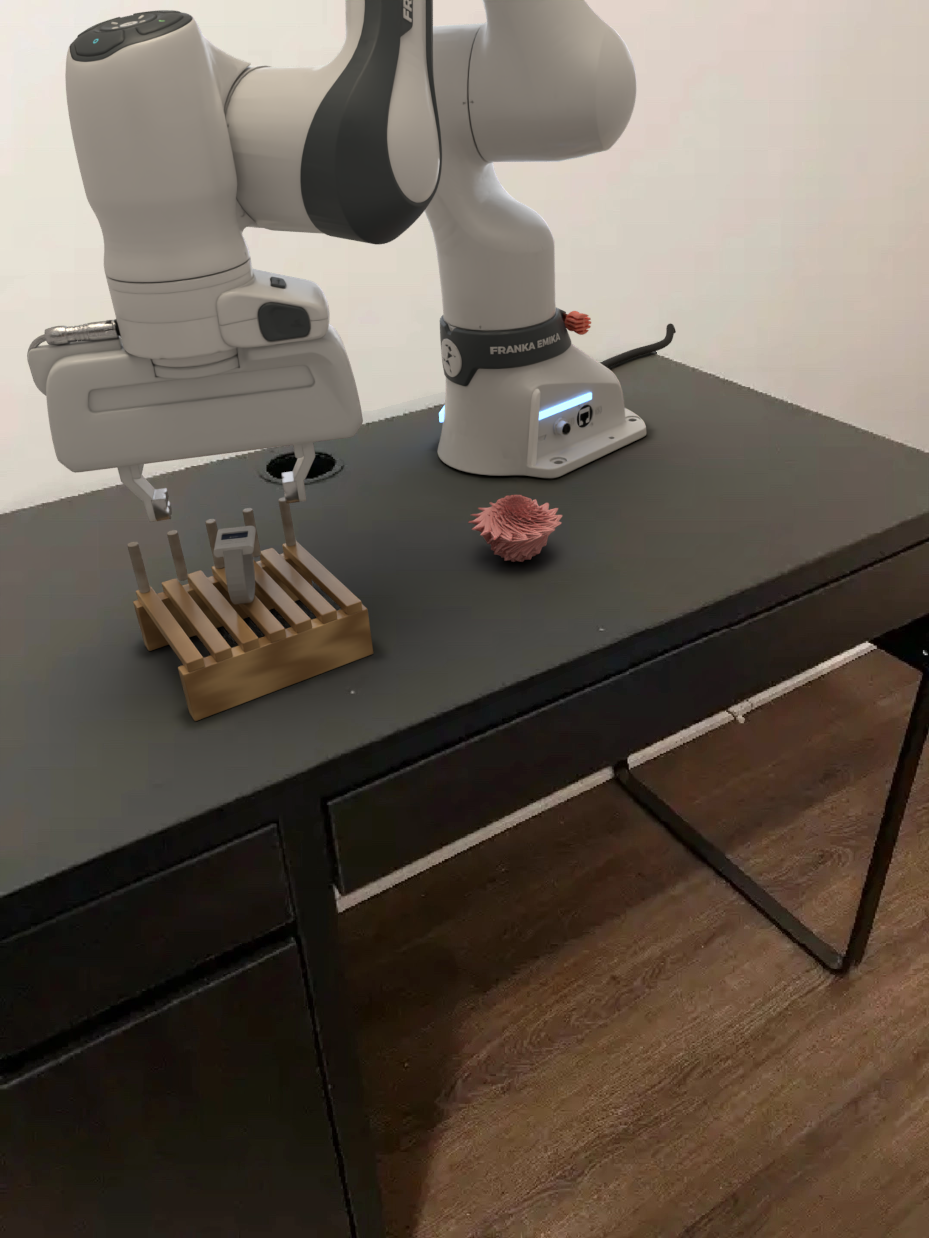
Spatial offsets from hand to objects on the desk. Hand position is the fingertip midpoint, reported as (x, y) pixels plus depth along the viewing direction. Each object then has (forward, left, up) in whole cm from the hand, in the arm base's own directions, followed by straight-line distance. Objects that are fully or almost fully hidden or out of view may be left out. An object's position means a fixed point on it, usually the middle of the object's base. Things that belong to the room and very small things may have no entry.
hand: (229, 508), depth 72 cm
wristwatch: (0, 0, -7) cm, 7 cm away
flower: (-24, 0, -12) cm, 27 cm away
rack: (0, 0, -12) cm, 12 cm away
